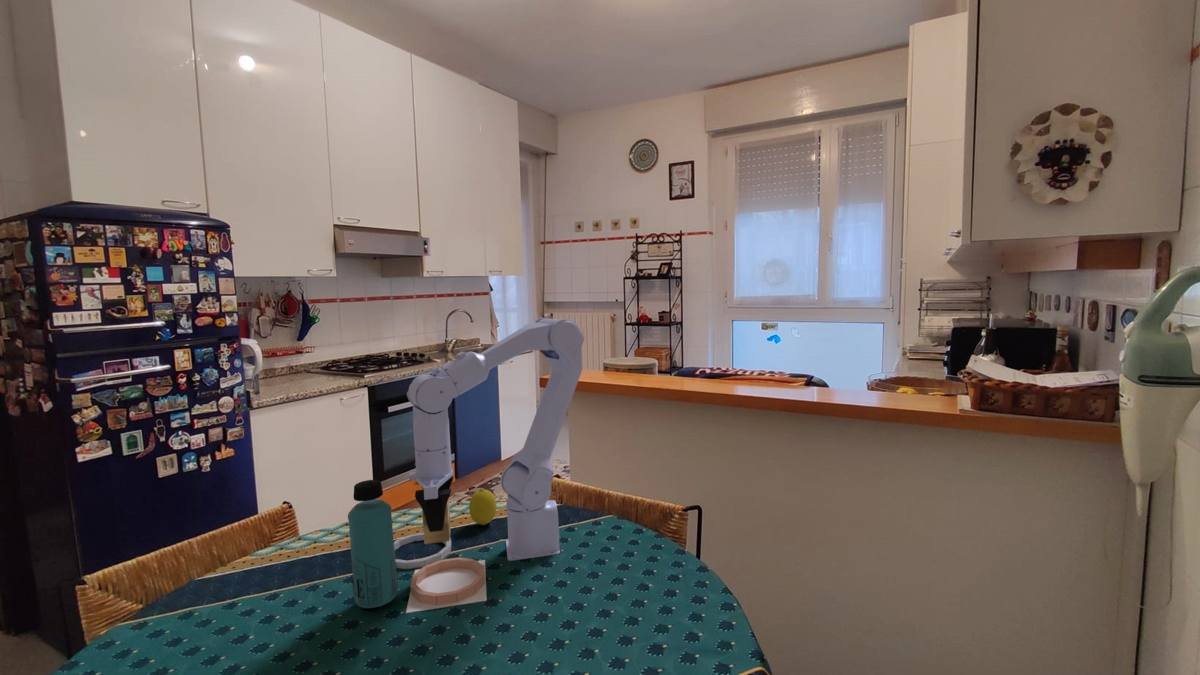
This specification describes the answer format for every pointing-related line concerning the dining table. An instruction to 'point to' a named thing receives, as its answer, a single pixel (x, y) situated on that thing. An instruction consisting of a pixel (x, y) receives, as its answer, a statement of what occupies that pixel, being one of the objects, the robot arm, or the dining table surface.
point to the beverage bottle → (372, 547)
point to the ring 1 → (420, 562)
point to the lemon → (482, 506)
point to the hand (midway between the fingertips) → (437, 524)
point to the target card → (448, 587)
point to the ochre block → (438, 535)
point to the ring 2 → (452, 595)
